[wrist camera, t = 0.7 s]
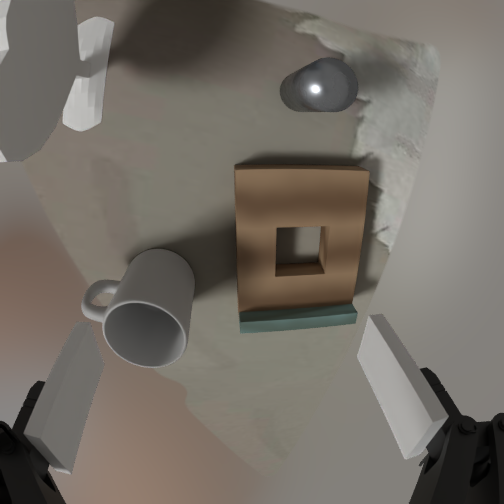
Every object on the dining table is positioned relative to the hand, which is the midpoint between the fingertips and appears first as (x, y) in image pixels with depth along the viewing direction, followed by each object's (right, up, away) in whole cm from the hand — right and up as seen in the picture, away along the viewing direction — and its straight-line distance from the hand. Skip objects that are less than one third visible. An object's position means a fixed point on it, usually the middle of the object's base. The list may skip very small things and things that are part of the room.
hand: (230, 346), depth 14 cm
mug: (-12, +1, +23) cm, 26 cm away
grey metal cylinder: (+6, +21, +16) cm, 27 cm away
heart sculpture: (-17, +24, +13) cm, 32 cm away
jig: (+6, +6, +23) cm, 24 cm away
